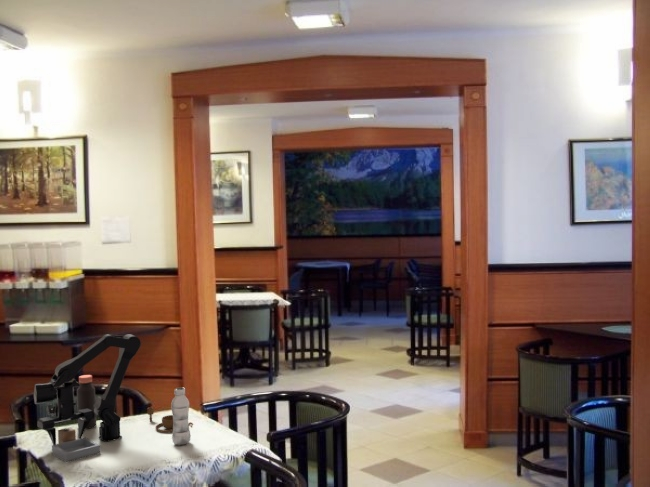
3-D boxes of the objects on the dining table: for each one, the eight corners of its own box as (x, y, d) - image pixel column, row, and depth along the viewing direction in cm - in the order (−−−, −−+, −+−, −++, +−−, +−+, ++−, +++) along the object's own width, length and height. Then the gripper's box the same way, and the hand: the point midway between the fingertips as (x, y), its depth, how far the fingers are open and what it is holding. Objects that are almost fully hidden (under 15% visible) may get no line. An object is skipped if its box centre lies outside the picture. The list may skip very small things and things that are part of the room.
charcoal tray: (85, 445, 247) (85, 437, 247) (100, 453, 238) (100, 445, 238) (52, 453, 239) (51, 445, 239) (66, 462, 230) (65, 453, 230)
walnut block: (70, 443, 250) (70, 426, 249) (76, 446, 246) (75, 429, 246) (58, 446, 247) (57, 429, 246) (63, 449, 243) (63, 432, 243)
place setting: (148, 437, 257) (147, 421, 257) (145, 422, 276) (145, 407, 276) (195, 432, 262) (195, 416, 262) (189, 417, 281) (189, 403, 281)
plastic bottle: (194, 442, 248) (192, 387, 247) (183, 448, 242) (181, 392, 241) (179, 440, 251) (178, 385, 250) (168, 445, 245) (166, 390, 244)
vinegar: (89, 423, 274) (87, 373, 273) (100, 425, 270) (98, 375, 269) (74, 427, 268) (72, 377, 267) (85, 430, 264) (83, 379, 264)
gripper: (81, 390, 258) (82, 431, 259) (30, 400, 245) (32, 443, 246) (94, 395, 250) (95, 438, 251) (42, 406, 237) (44, 450, 238)
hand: (67, 442), depth 246 cm, fingers open, 9 cm apart
